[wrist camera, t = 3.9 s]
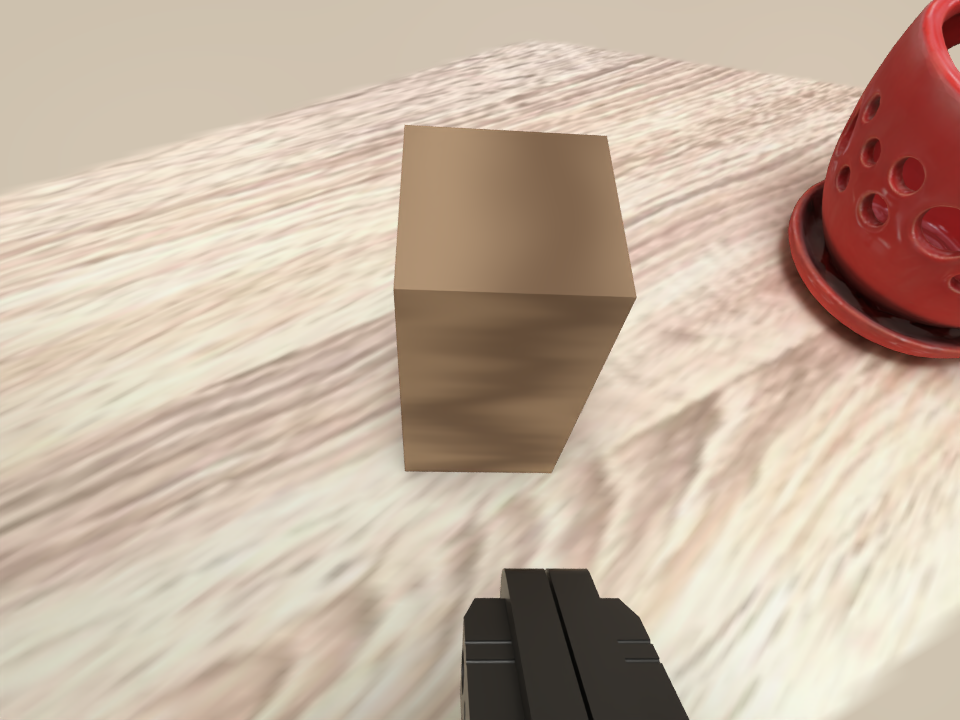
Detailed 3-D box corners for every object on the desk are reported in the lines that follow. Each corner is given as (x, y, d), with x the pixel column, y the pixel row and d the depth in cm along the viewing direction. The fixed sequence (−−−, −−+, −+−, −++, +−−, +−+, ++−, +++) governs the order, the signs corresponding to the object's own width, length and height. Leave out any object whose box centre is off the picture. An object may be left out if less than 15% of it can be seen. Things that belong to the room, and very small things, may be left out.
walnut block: (404, 471, 25) (393, 289, 15) (410, 346, 28) (404, 125, 18) (551, 473, 26) (636, 297, 16) (541, 349, 29) (606, 135, 19)
